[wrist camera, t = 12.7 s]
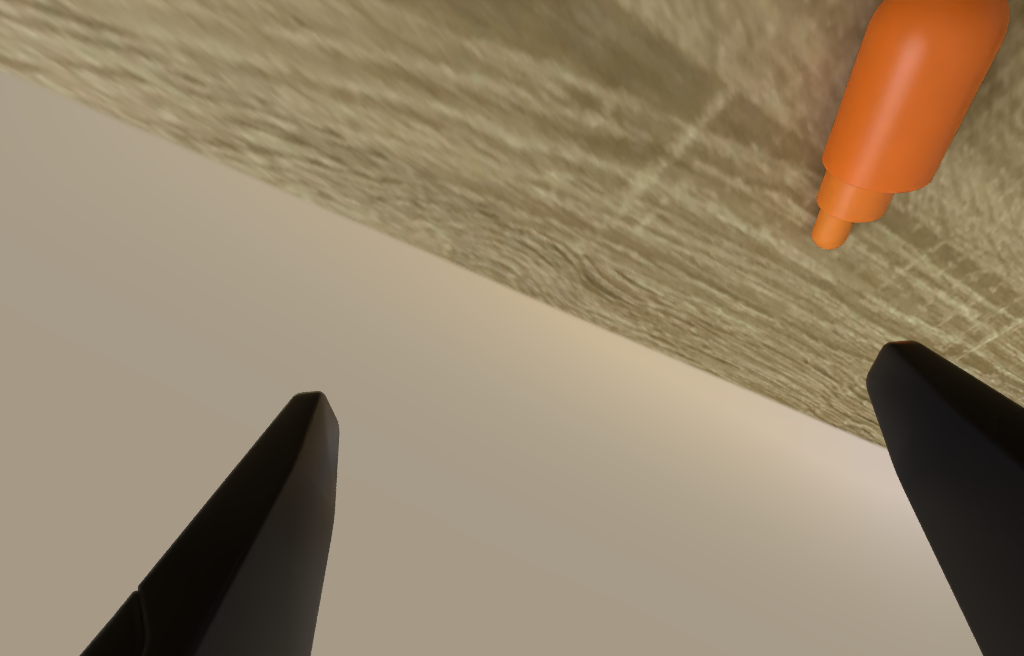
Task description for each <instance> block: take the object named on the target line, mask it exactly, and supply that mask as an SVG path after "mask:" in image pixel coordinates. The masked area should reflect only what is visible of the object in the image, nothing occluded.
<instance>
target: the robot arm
mask: <svg viewBox="0 0 1024 656" xmlns="http://www.w3.org/2000/svg"><path fill="white" fill-rule="evenodd" d="M866 386H867V390H868V394H869V396H870V399H871V402H872V405H873V408H874V411H875V414H876V417H877V420H878V423H879V425H880V428H881V431H882V434H883V437H884V440H885V443H886V446H887V449H888V452H889V454H890V457H891V460H892V463H893V465H894V468H895V471H896V473H897V476H898V478H899V480H900V482H901V484H902V487H903V489H904V491H905V493H906V495H907V497H908V499H909V501H910V504H911V506H912V508H913V510H914V512H915V514H916V516H917V518H918V520H919V522H920V524H921V527H922V529H923V531H924V532H925V535H926V537H927V539H928V541H929V543H930V545H931V547H932V550H933V551H934V554H935V556H936V558H937V560H938V562H939V564H940V566H941V568H942V570H943V573H944V575H945V577H946V579H947V581H948V583H949V585H950V587H951V589H952V591H953V593H954V596H955V598H956V600H957V602H958V604H959V606H960V608H961V610H962V612H963V614H964V616H965V618H966V621H967V623H968V625H969V627H970V629H971V631H972V633H973V635H974V637H975V639H976V641H977V643H978V646H979V648H980V650H981V652H982V654H983V656H1024V408H1023V407H1022V406H1020V405H1018V404H1017V403H1015V402H1014V401H1012V400H1010V399H1009V398H1007V397H1006V396H1004V395H1002V394H1001V393H999V392H998V391H996V390H994V389H993V388H991V387H990V386H988V385H986V384H985V383H983V382H982V381H980V380H978V379H977V378H975V377H974V376H972V375H970V374H969V373H967V372H966V371H964V370H962V369H961V368H959V367H958V366H956V365H954V364H953V363H951V362H950V361H948V360H946V359H945V358H943V357H942V356H940V355H938V354H937V353H935V352H934V351H932V350H930V349H929V348H927V347H925V346H924V345H922V344H920V343H919V342H916V341H897V342H889V343H887V344H885V345H884V346H883V347H882V349H881V351H880V352H879V354H878V356H877V358H876V360H875V361H874V363H873V365H872V367H871V369H870V371H869V372H868V375H867V379H866ZM338 445H339V425H338V421H337V419H336V417H335V415H334V412H333V410H332V408H331V406H330V404H329V402H328V400H327V398H326V396H325V395H324V393H322V392H320V391H314V392H302V393H298V394H296V395H295V396H294V397H293V398H292V399H291V400H290V401H289V402H288V404H287V405H286V406H285V407H284V408H283V410H282V411H281V412H280V413H279V415H278V416H277V417H276V418H275V419H274V421H273V422H272V423H271V424H270V426H269V427H268V428H267V429H266V431H265V432H264V433H263V434H262V435H261V437H260V438H259V439H258V440H257V441H256V443H255V444H254V445H253V446H252V448H251V449H250V450H249V451H248V453H247V454H246V455H245V456H244V457H243V459H242V460H241V461H240V462H239V463H238V465H237V466H236V467H235V468H234V470H233V471H232V472H231V473H230V474H229V476H228V477H227V478H226V479H225V481H224V482H223V483H222V484H221V485H220V487H219V488H218V489H217V490H216V492H215V493H214V494H213V495H212V496H211V498H210V499H209V500H208V501H207V503H206V504H205V505H204V506H203V508H202V509H201V510H200V511H199V513H198V514H197V515H196V516H195V517H194V518H193V520H192V521H191V522H190V523H189V525H188V526H187V527H186V528H185V529H184V531H183V532H182V533H181V535H180V536H179V537H178V538H177V539H176V540H175V542H174V543H173V544H172V545H171V547H170V548H169V549H168V550H167V551H166V553H165V554H164V555H163V556H162V558H161V559H160V560H159V561H158V562H157V564H156V565H155V566H154V567H153V569H152V570H151V571H150V572H149V573H148V575H147V576H146V577H145V578H144V580H143V581H142V582H141V583H140V584H139V586H138V591H134V592H133V593H132V594H131V595H130V596H129V598H128V599H127V600H126V601H125V603H124V604H123V605H122V606H121V607H120V609H119V610H118V611H117V612H116V614H115V615H114V616H113V617H112V618H111V620H110V621H109V622H108V623H107V624H106V625H105V627H104V628H103V629H102V630H101V631H100V632H99V634H98V635H97V636H96V637H95V638H94V640H93V641H92V642H91V643H90V644H89V645H88V646H87V648H86V649H85V650H84V651H83V652H82V654H81V655H80V656H310V655H311V650H312V644H313V639H314V632H315V627H316V622H317V616H318V610H319V604H320V599H321V593H322V587H323V582H324V576H325V570H326V565H327V559H328V553H329V548H330V542H331V536H332V530H333V523H334V514H335V500H336V499H335V498H336V482H337V464H338V447H339V446H338Z"/></svg>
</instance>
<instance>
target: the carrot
mask: <svg viewBox="0 0 1024 656" xmlns="http://www.w3.org/2000/svg"><path fill="white" fill-rule="evenodd" d="M1008 23H1009V5H1008V1H1007V0H883V1H882V3H881V4H880V5H879V6H878V8H877V9H876V11H875V12H874V14H873V16H872V18H871V20H870V22H869V25H868V27H867V30H866V33H865V36H864V38H863V41H862V44H861V47H860V50H859V53H858V56H857V58H856V61H855V64H854V67H853V70H852V73H851V76H850V78H849V81H848V84H847V87H846V90H845V93H844V96H843V98H842V101H841V104H840V107H839V110H838V113H837V116H836V118H835V121H834V124H833V127H832V130H831V133H830V136H829V138H828V141H827V144H826V147H825V150H824V153H823V156H822V162H823V165H824V167H825V168H826V169H827V170H826V172H825V175H824V178H823V181H822V183H821V186H820V189H819V192H818V194H817V204H818V206H819V207H820V208H821V209H820V212H819V214H818V217H817V220H816V222H815V225H814V228H813V231H812V238H813V241H814V242H815V244H816V245H817V246H819V247H821V248H823V249H835V248H837V247H839V246H841V245H842V244H843V243H844V242H845V241H846V239H847V237H848V235H849V233H850V230H851V228H852V226H853V223H854V222H871V221H874V220H877V219H879V218H880V217H882V216H883V215H884V214H885V212H886V210H887V208H888V205H889V203H890V201H891V199H892V197H893V195H894V193H904V192H910V191H915V190H918V189H920V188H923V187H924V186H926V185H927V184H928V183H930V181H931V180H932V179H933V177H934V175H935V173H936V171H937V169H938V167H939V165H940V163H941V161H942V159H943V157H944V155H945V153H946V151H947V150H948V148H949V146H950V144H951V142H952V140H953V138H954V136H955V134H956V132H957V130H958V128H959V126H960V124H961V122H962V120H963V118H964V116H965V115H966V113H967V111H968V109H969V107H970V105H971V103H972V101H973V99H974V97H975V95H976V93H977V91H978V89H979V87H980V85H981V83H982V82H983V80H984V78H985V76H986V74H987V72H988V70H989V68H990V66H991V64H992V62H993V60H994V58H995V56H996V54H997V52H998V50H999V48H1000V46H1001V44H1002V42H1003V40H1004V38H1005V35H1006V32H1007V28H1008Z"/></svg>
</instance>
